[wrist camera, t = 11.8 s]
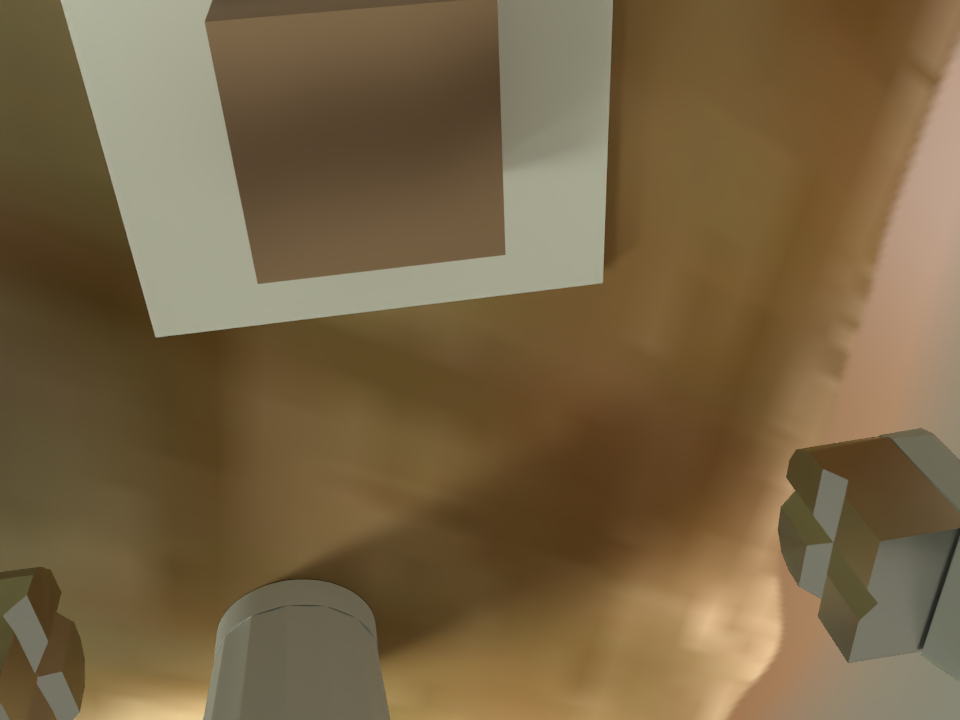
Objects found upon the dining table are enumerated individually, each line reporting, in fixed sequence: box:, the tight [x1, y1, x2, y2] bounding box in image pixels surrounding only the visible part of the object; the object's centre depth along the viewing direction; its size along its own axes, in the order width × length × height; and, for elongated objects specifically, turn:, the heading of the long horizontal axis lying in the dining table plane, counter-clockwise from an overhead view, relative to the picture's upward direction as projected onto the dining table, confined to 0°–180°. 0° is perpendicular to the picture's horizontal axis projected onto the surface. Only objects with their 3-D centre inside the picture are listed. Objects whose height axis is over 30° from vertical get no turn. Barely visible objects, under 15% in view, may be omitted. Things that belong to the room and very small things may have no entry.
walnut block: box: [205, 0, 505, 284], centre depth 22 cm, size 6×6×5 cm
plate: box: [61, 0, 613, 337], centre depth 25 cm, size 14×14×1 cm
